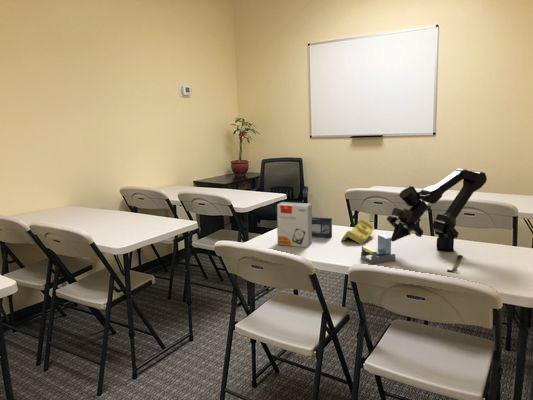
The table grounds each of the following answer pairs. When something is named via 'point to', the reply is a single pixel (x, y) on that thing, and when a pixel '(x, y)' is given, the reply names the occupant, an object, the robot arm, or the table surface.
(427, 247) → the table surface
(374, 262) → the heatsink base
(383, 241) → the grey-blue brushed block
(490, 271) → the table surface
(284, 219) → the hard drive box
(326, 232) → the vhs cassette tape
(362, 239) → the plastic component
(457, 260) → the tomahawk
